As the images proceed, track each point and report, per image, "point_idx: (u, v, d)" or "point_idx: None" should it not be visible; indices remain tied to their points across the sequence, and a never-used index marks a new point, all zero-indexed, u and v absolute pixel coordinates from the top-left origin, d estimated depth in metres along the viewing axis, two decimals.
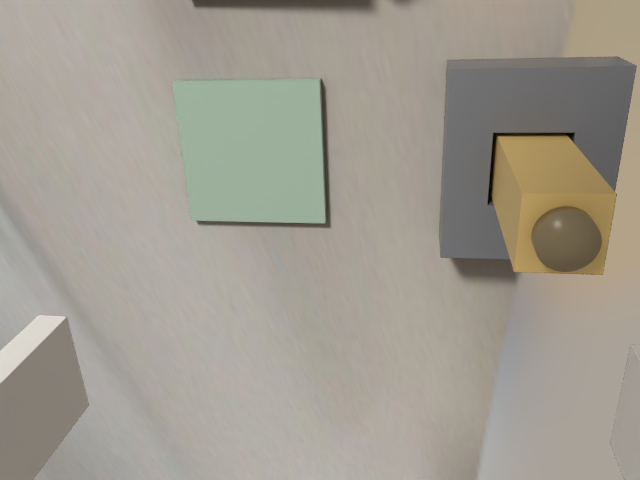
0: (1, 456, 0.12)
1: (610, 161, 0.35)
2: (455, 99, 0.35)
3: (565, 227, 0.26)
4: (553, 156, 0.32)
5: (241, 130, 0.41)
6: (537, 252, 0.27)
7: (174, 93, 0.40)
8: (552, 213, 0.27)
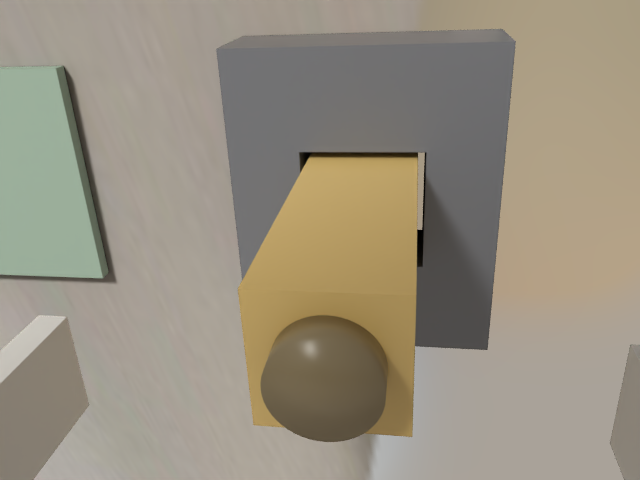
0: (1, 456, 0.12)
1: (486, 198, 0.22)
2: (233, 98, 0.21)
3: (311, 363, 0.13)
4: (364, 199, 0.18)
5: None
6: (268, 406, 0.14)
7: None
8: (293, 330, 0.13)
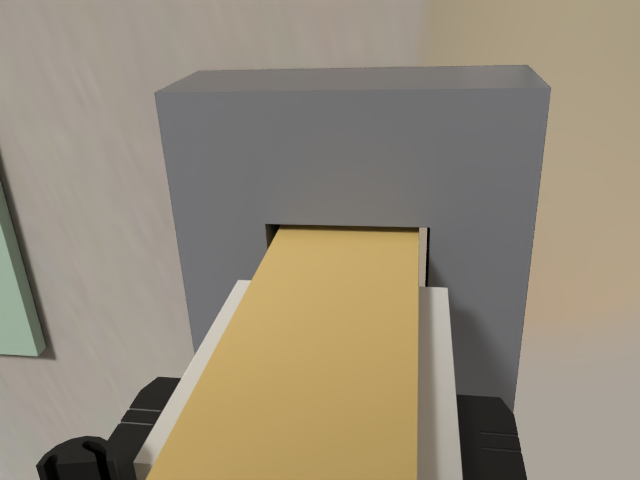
0: None
1: (508, 286, 0.17)
2: (178, 155, 0.16)
3: None
4: (345, 308, 0.13)
5: None
6: None
7: None
8: None
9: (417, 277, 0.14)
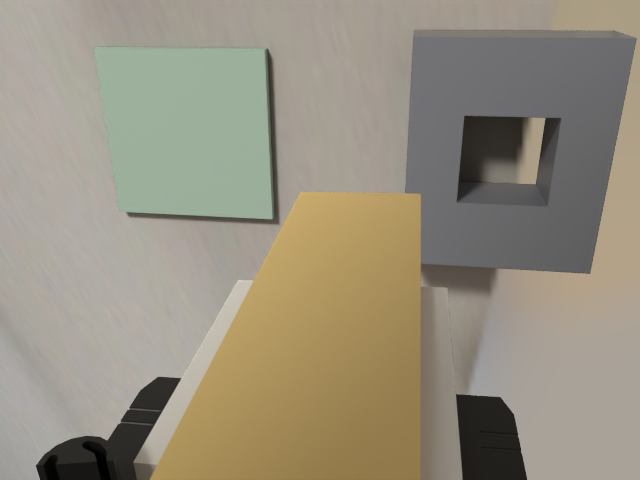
0: None
1: (602, 154, 0.29)
2: (420, 73, 0.29)
3: None
4: (347, 309, 0.13)
5: (175, 107, 0.35)
6: None
7: (96, 61, 0.34)
8: None
9: (419, 278, 0.14)
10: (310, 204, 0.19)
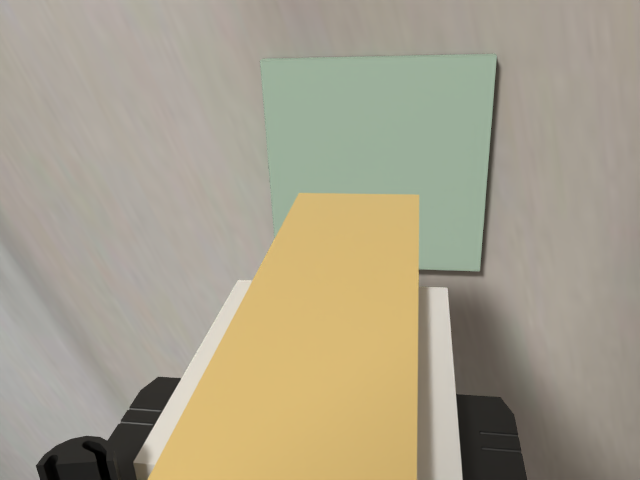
0: None
1: None
2: None
3: None
4: (345, 310, 0.13)
5: (363, 134, 0.27)
6: None
7: (263, 77, 0.27)
8: None
9: (417, 279, 0.14)
10: (309, 205, 0.19)
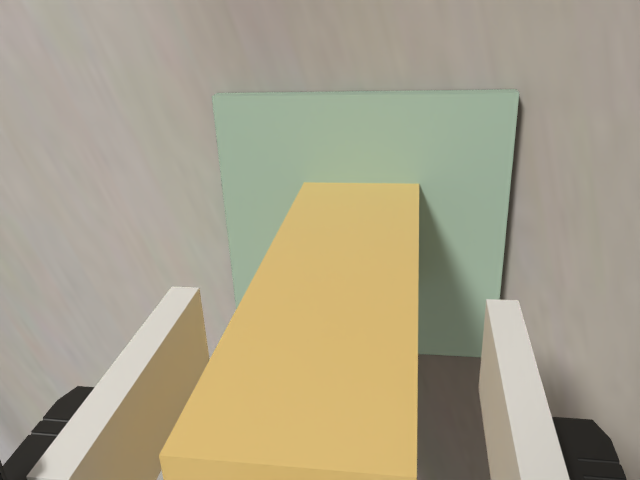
0: (160, 411, 0.13)
1: None
2: None
3: None
4: (350, 286, 0.14)
5: None
6: None
7: (216, 118, 0.21)
8: None
9: (417, 259, 0.15)
10: (313, 193, 0.20)
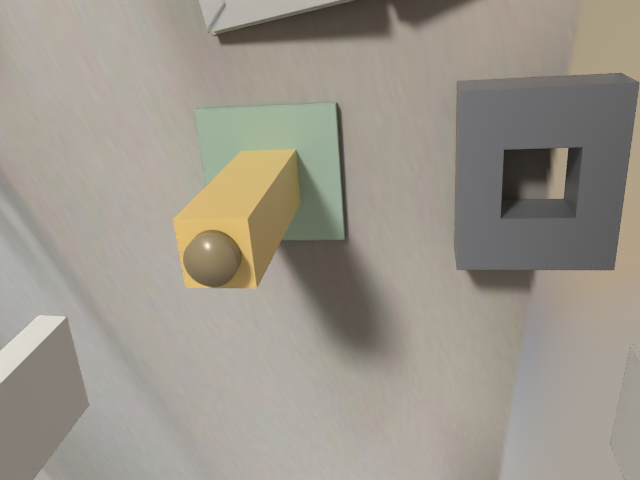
0: (1, 456, 0.12)
1: (618, 173, 0.37)
2: (466, 119, 0.37)
3: (203, 248, 0.30)
4: (246, 183, 0.36)
5: None
6: (187, 270, 0.31)
7: (197, 120, 0.42)
8: (197, 236, 0.31)
9: (277, 174, 0.37)
10: (244, 155, 0.42)
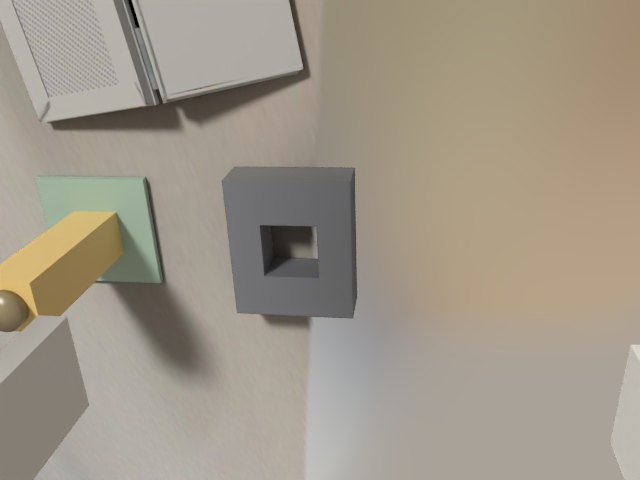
0: (1, 456, 0.12)
1: (344, 246, 0.47)
2: (229, 201, 0.47)
3: None
4: (53, 247, 0.46)
5: None
6: None
7: (37, 186, 0.53)
8: None
9: (82, 239, 0.47)
10: (72, 215, 0.52)
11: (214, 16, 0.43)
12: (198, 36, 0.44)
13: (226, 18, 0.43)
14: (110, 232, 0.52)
